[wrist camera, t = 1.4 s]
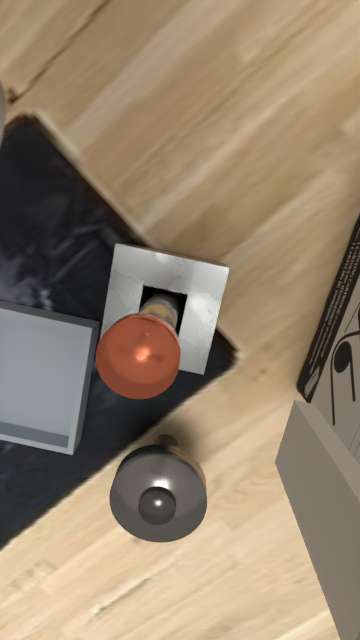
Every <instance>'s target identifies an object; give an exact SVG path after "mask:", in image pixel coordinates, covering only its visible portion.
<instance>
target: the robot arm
mask: <svg viewBox="0 0 360 640" xmlns="http://www.w3.org/2000/svg"><path fill="white" fill-rule="evenodd" d="M275 464H276V466H277V469H278V472H279V474H280V477H281V480H282V483H283V485H284V488H285V491H286V493H287V496H288V499H289V501H290V504H291V507H292V509H293V512H294V515H295V518H296V520H297V523H298V526H299V528H300V531H301V534H302V536H303V539H304V542H305V545H306V547H307V550H308V553H309V555H310V558H311V561H312V563H313V566H314V569H315V572H316V574H317V577H318V580H319V582H320V585H321V588H322V590H323V593H324V596H325V599H326V601H327V604H328V607H329V609H330V612H331V615H332V617H333V620H334V623H335V625H336V628H337V631H338V634H339V636H340V639H341V640H360V465H359V464H358V463H357V461H356V460H355V459H354V457H353V456H352V455H351V453H350V452H349V451H348V449H347V448H346V447H345V445H344V444H343V443H342V441H341V440H340V439H339V437H338V436H337V435H336V433H335V432H334V431H333V429H332V428H331V427H330V425H329V424H328V423H327V421H326V420H325V418H324V417H323V416H322V414H321V413H320V412H319V410H318V409H317V408H316V406H315V405H314V404H310V403H306V402H301V401H296V400H294V403H293V406H292V409H291V412H290V416H289V419H288V422H287V425H286V428H285V432H284V435H283V438H282V441H281V445H280V448H279V451H278V454H277V457H276V461H275Z"/></svg>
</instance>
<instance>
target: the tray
mask: <svg viewBox="0 0 360 640" xmlns="http://www.w3.org/2000/svg"><path fill="white" fill-rule="evenodd" d="M99 325H100V322H99V321H94V320H89V319H85V318H80V317H75V316H71V315H66V314H62V313H57V312H52V311H48V310H43V309H38V308H34V307H29V306H25V305H20V304H15V303H11V302H6V301H1V300H0V439H1V440H6V441H10V442H15V443H20V444H24V445H29V446H33V447H38V448H43V449H47V450H52V451H57V452H61V453H66V454H71V455H73V453H74V451H75V450H76V448H77V446H78V445H79V443H80V441H81V437H82V430H83V424H84V418H85V412H86V405H87V399H88V393H89V387H90V381H91V374H92V368H93V362H94V356H95V349H96V343H97V337H98V331H99Z"/></svg>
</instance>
